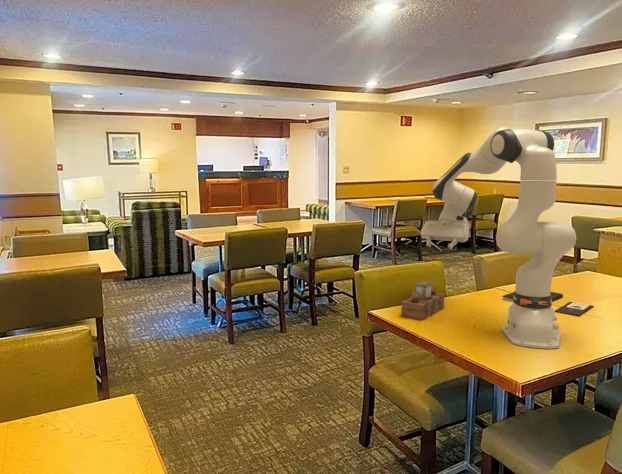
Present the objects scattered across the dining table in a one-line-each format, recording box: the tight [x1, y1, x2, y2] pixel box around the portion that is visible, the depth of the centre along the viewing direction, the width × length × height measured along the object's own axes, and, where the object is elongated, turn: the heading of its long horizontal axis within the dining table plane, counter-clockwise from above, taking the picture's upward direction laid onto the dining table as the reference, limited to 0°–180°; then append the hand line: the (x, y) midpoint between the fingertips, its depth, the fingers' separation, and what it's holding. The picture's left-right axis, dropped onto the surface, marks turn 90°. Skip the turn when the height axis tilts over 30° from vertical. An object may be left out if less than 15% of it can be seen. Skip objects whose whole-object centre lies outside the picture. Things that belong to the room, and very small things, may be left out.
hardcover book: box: [501, 291, 564, 303], centre depth 208 cm, size 16×23×2 cm
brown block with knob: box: [401, 285, 445, 321], centre depth 190 cm, size 20×9×10 cm, turn 141°
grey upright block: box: [415, 281, 433, 301], centre depth 189 cm, size 5×4×9 cm
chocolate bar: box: [554, 301, 595, 318], centre depth 191 cm, size 9×1×18 cm
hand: (438, 247), depth 197 cm, fingers open, 8 cm apart
